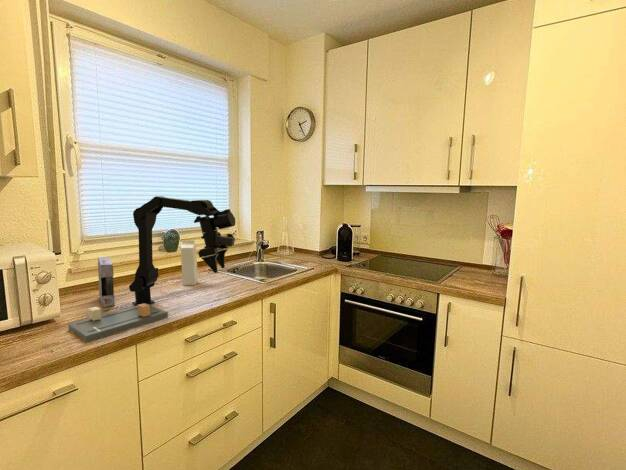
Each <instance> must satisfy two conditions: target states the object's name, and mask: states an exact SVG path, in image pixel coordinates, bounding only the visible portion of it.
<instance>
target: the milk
mask: <svg viewBox="0 0 626 470" xmlns="http://www.w3.org/2000/svg"><path fill="white" fill-rule="evenodd" d="M181 242H182V243H181V246H180V261H181V277H182V278H181V282H182V286H195V285H196V284H198V283H199V280H198V279H199V277H198V276H199V275H198V259H197V258H198V257H197V255H198V254H197V244H195V243H196V242H195V240H181Z"/></svg>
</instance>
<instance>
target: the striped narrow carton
mask: <svg viewBox="0 0 626 470" xmlns="http://www.w3.org/2000/svg"><path fill="white" fill-rule="evenodd" d="M97 274H98V292H99V294H98V296H99V300H100V304H101V307H102V308H109V307H114V306H115V305H116V303H115V293H114V292H115V291H114V289H115V288H114V287H115V286H114V264H113V262H112V261H111V257H110V256H102V257H101V256H100V257H97Z"/></svg>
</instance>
